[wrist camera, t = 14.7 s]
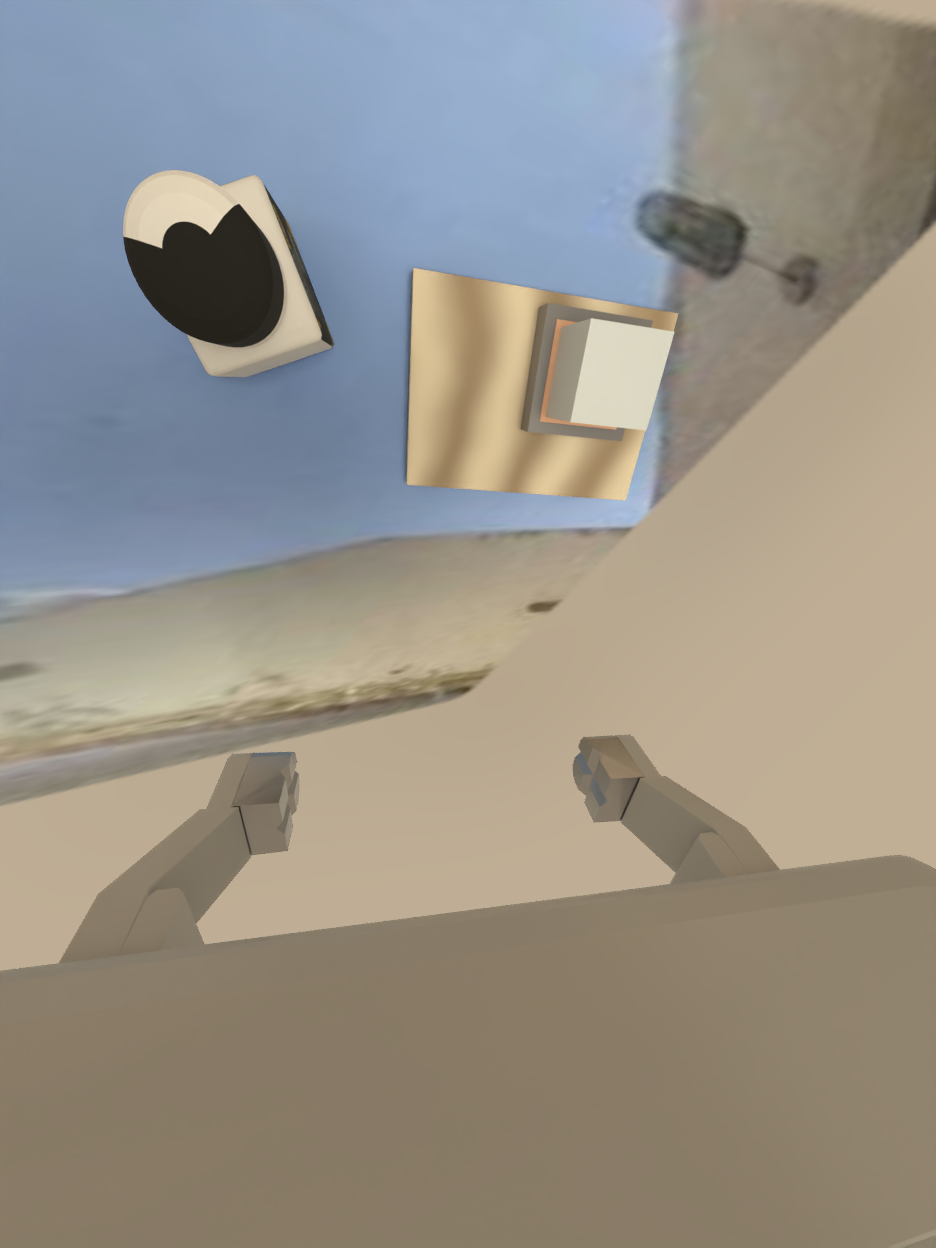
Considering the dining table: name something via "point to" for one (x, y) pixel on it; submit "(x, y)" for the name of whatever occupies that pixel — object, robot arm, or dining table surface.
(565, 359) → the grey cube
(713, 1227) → the robot arm
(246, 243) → the medicine bottle
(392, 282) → the dining table surface
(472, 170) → the dining table surface
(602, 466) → the board
